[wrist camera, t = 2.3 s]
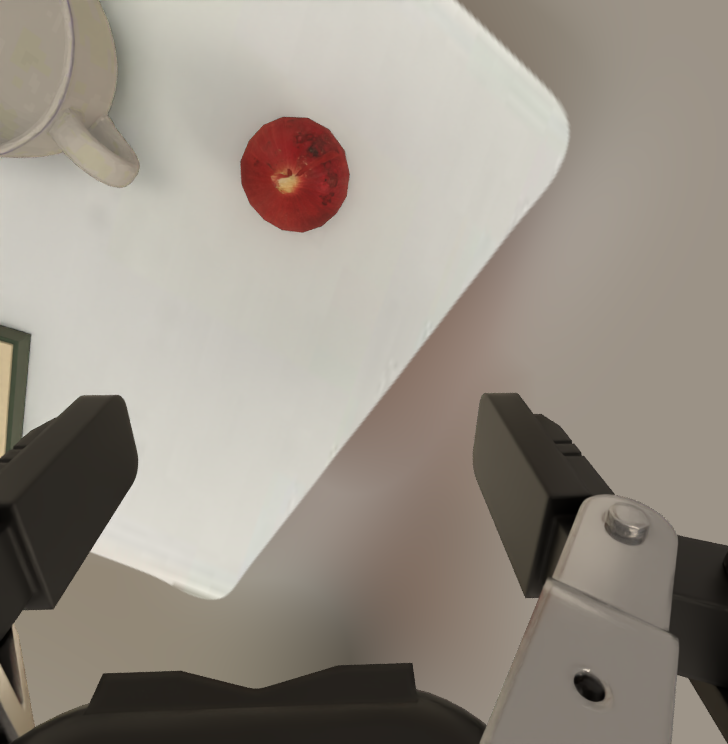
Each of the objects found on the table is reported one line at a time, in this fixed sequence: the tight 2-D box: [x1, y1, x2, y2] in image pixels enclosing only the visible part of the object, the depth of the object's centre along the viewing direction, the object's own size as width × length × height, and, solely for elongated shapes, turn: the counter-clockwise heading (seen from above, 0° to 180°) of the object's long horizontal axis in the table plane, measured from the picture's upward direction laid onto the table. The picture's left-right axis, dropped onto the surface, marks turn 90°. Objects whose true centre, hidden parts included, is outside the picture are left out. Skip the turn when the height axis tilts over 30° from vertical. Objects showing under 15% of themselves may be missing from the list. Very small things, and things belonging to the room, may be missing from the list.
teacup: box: [0, 0, 140, 188], centre depth 23 cm, size 14×11×8 cm
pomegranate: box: [240, 117, 350, 232], centre depth 25 cm, size 6×6×8 cm
